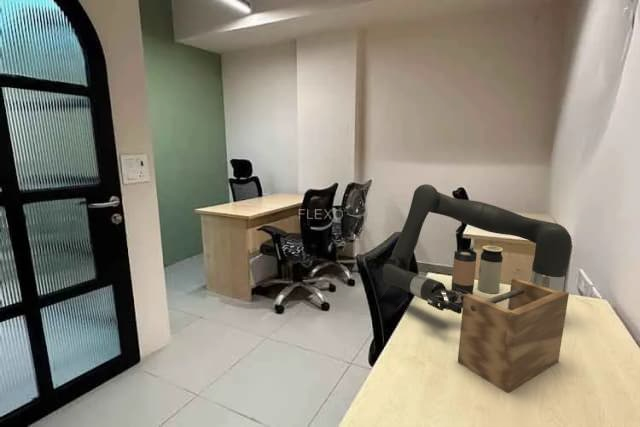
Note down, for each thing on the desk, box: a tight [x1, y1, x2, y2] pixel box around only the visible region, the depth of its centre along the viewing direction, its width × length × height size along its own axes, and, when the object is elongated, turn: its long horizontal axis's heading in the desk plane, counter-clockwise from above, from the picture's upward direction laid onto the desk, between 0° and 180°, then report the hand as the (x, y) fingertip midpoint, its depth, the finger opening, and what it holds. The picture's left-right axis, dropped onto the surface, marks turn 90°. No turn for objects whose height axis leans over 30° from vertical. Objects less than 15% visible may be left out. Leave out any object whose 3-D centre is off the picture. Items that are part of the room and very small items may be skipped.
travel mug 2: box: [477, 245, 504, 294], centre depth 140 cm, size 8×8×18 cm
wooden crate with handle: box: [457, 277, 570, 394], centre depth 92 cm, size 14×24×20 cm, turn 121°
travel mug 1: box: [450, 248, 477, 308], centre depth 127 cm, size 8×8×20 cm
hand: (470, 307), depth 102 cm, fingers open, 8 cm apart
